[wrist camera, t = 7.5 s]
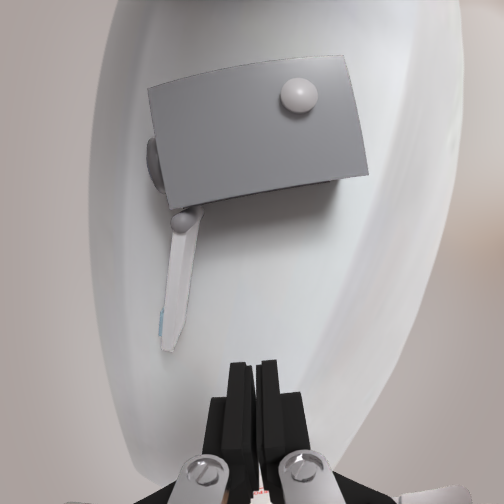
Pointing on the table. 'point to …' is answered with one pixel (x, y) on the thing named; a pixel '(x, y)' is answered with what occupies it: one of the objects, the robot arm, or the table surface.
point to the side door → (179, 275)
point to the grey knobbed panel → (254, 130)
